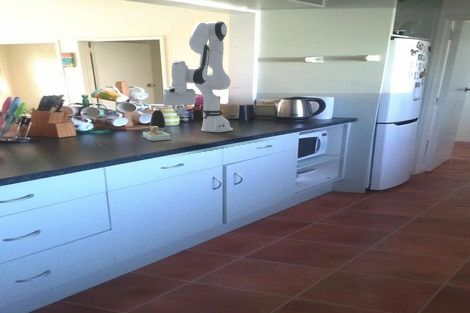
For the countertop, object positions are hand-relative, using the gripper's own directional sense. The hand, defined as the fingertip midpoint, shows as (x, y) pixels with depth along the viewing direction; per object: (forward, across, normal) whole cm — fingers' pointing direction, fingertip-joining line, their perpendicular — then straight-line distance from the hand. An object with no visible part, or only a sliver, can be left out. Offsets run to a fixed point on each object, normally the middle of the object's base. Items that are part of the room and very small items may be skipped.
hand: (179, 112), depth 219 cm
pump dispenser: (+16, +5, -26) cm, 31 cm away
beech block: (+15, +14, -8) cm, 22 cm away
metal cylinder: (+2, 0, 0) cm, 2 cm away
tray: (+15, +14, -5) cm, 21 cm away
